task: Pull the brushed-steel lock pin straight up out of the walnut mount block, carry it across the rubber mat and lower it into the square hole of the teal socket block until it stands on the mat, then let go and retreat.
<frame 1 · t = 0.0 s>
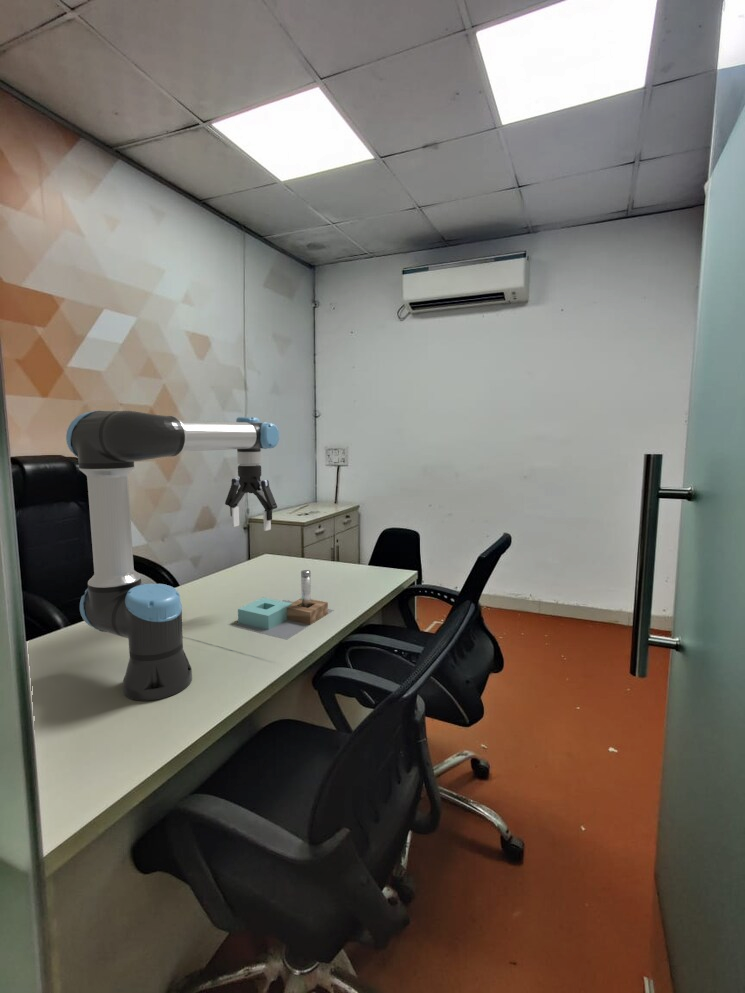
hand: (251, 528, 161), 28 cm above the table, fingers open, 13 cm apart
pin: (306, 594, 155), in the mount, point 8 cm above the table, touching mat
mat: (285, 619, 155), on the table
mount: (306, 610, 156), on the mat, point 3 cm above the table
socket: (265, 619, 154), resting on mat
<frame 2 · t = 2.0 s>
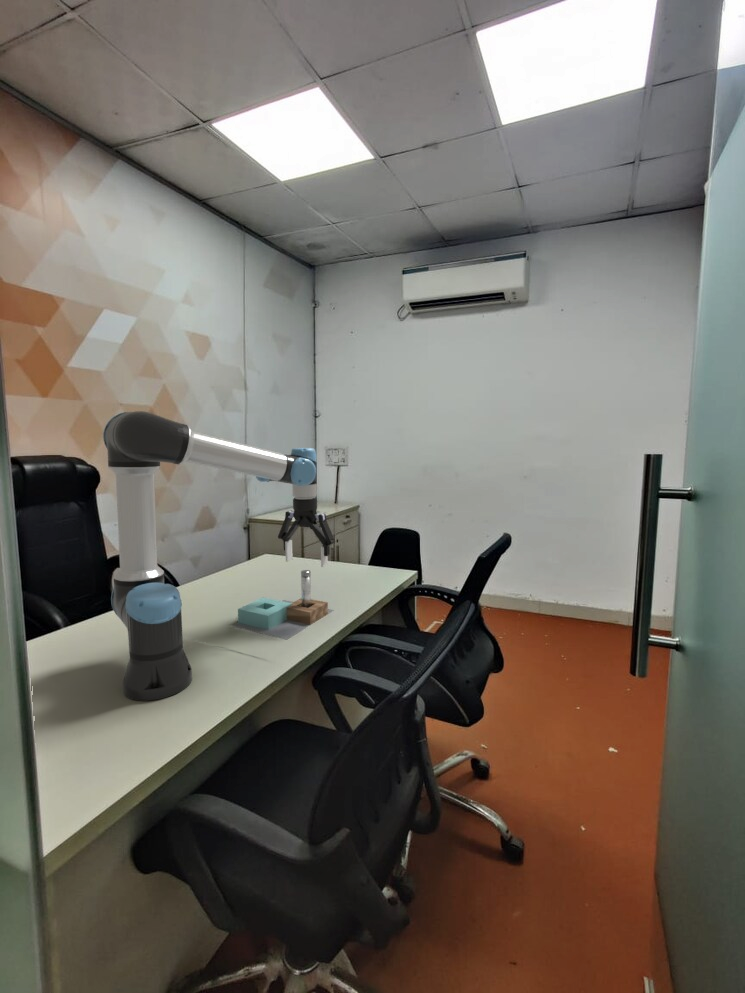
hand: (306, 563, 154), 18 cm above the table, fingers open, 13 cm apart
nothing on the table moved.
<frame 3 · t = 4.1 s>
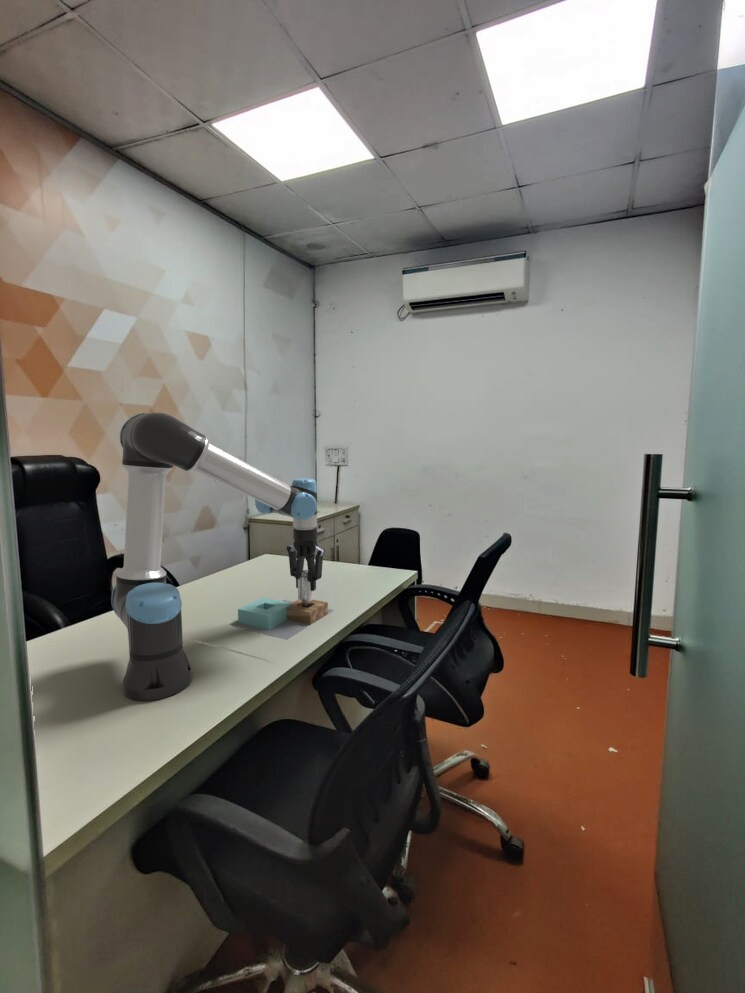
hand: (306, 598, 155), 7 cm above the table, fingers closed on pin, 3 cm apart
pin: (306, 594, 155), in the mount, point 8 cm above the table, touching gripper, mat
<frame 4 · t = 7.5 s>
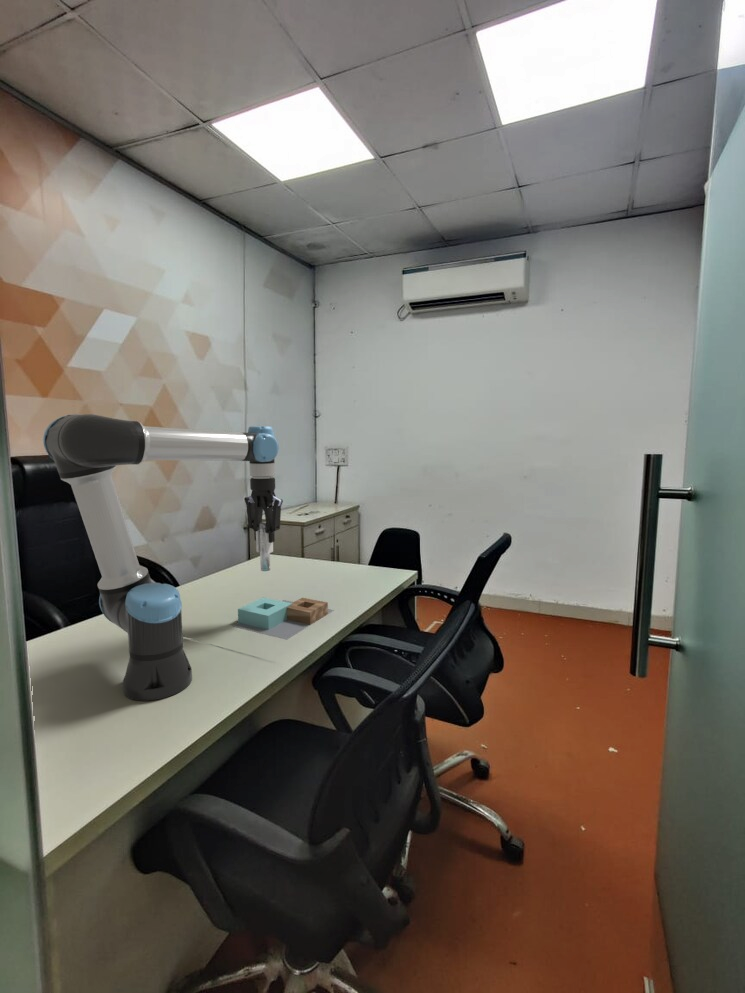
hand: (264, 551, 151), 23 cm above the table, fingers closed on pin, 3 cm apart
pin: (264, 546, 151), point 24 cm above the table, touching gripper
when the fingers open (7 cm above the table, at t = 10.9 s): pin stays where it is, resting on mat.
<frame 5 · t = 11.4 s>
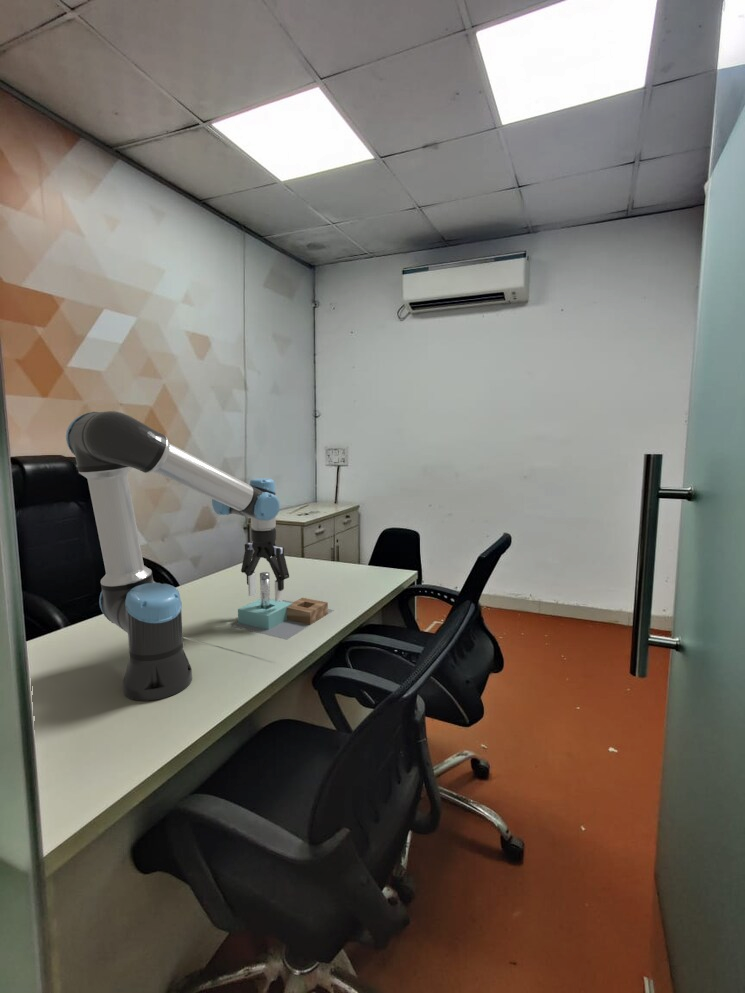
hand: (265, 597, 153), 8 cm above the table, fingers open, 10 cm apart
pin: (265, 596, 153), in the socket, point 8 cm above the table, touching mat
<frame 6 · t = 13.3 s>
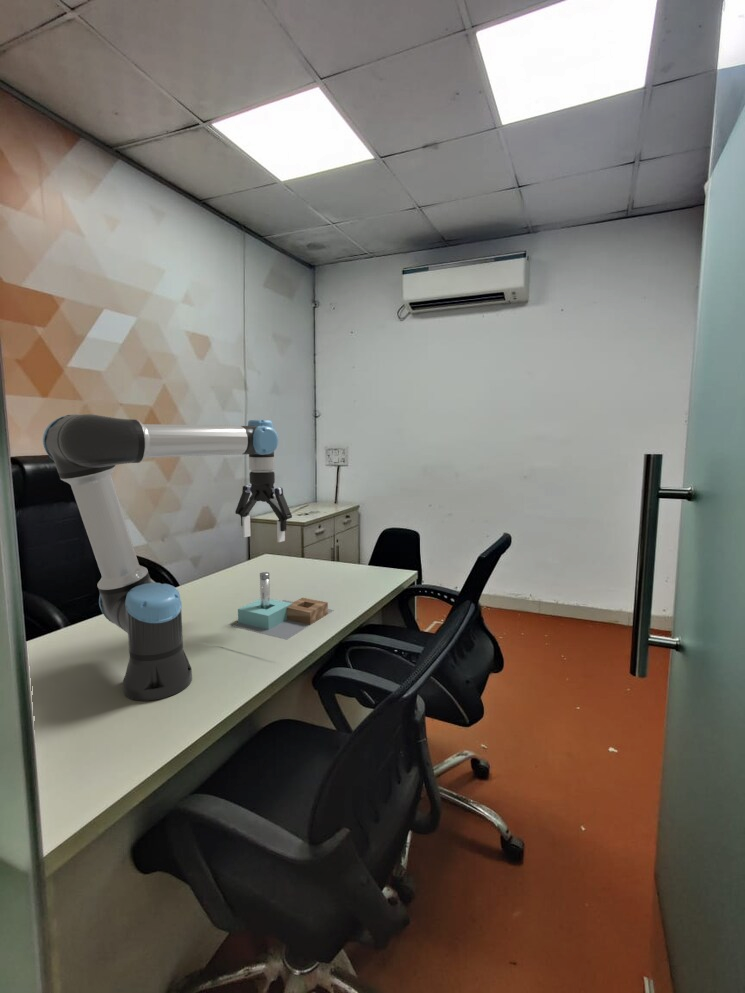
hand: (263, 539, 150), 27 cm above the table, fingers open, 13 cm apart
nothing on the table moved.
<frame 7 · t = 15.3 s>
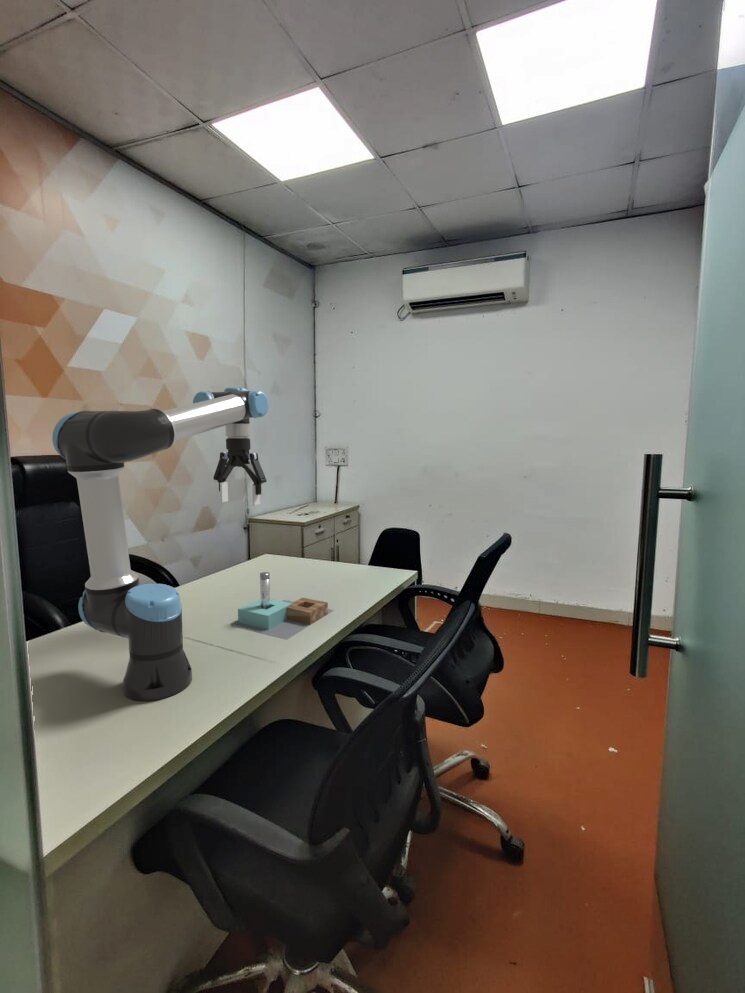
hand: (240, 503, 157), 37 cm above the table, fingers open, 13 cm apart
nothing on the table moved.
at the end: pin 0.0 cm off-centre on the socket, point 7.6 cm above the socket's base; pin tilted 0°; the gripper is holding nothing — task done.
